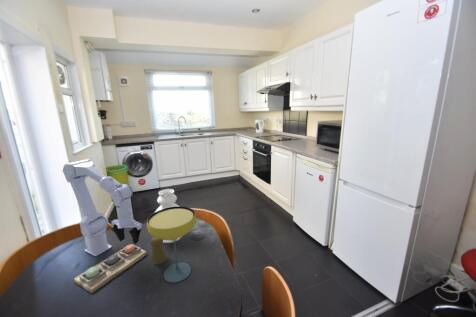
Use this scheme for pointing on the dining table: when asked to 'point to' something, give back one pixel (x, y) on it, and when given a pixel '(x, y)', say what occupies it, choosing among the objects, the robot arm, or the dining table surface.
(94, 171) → the robot arm
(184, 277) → the cocktail glass
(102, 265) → the button board
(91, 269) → the sage button
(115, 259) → the charcoal button
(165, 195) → the decorative vase
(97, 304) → the dining table surface
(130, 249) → the terracotta button
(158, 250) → the cork
